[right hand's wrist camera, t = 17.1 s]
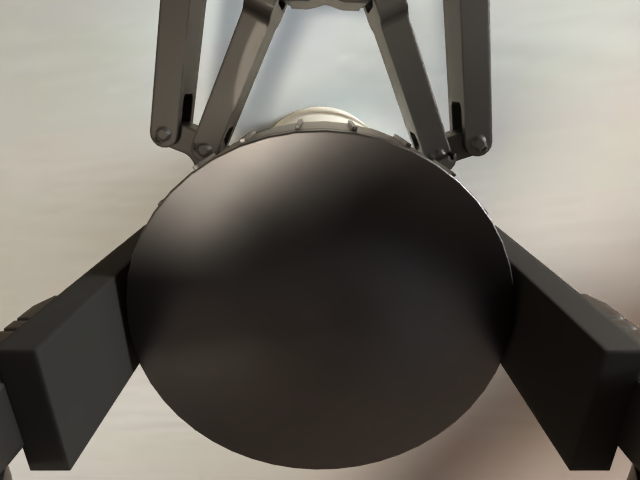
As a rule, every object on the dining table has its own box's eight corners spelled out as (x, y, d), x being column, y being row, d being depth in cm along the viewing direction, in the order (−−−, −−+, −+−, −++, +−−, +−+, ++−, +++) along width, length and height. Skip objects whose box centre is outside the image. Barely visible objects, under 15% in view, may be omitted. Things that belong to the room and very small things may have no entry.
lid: (399, 45, 10) (421, 36, 8) (525, 340, 13) (566, 391, 11) (89, 223, 11) (37, 255, 9) (265, 449, 14) (255, 512, 12)
